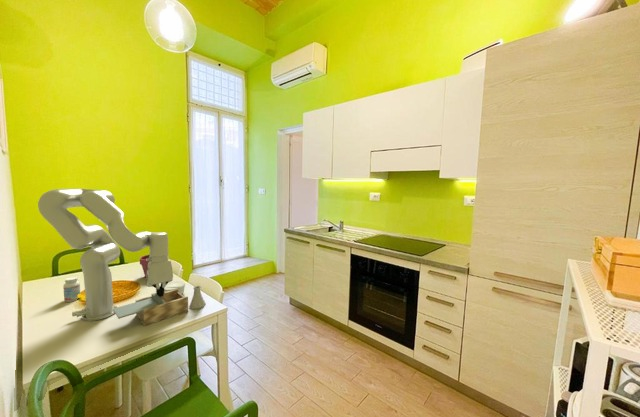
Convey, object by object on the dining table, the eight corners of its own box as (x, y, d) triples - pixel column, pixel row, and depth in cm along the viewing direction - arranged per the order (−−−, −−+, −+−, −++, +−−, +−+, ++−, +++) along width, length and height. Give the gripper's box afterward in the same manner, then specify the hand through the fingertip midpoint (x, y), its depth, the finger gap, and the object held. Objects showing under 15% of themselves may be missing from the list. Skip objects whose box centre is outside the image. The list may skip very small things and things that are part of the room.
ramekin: (164, 301, 134) (163, 291, 133) (160, 293, 142) (159, 284, 142) (187, 295, 141) (187, 285, 141) (182, 288, 150) (182, 279, 149)
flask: (199, 310, 125) (198, 290, 124) (186, 308, 127) (185, 289, 126) (208, 303, 132) (208, 285, 131) (195, 301, 134) (195, 283, 133)
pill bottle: (61, 301, 130) (59, 279, 129) (75, 296, 136) (74, 275, 135) (69, 303, 129) (67, 281, 127) (83, 297, 134) (82, 277, 133)
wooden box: (144, 326, 111) (144, 310, 110) (136, 315, 119) (135, 300, 119) (188, 311, 124) (188, 296, 123) (177, 302, 133) (177, 288, 132)
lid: (118, 318, 105) (118, 312, 104) (113, 309, 111) (112, 304, 111) (166, 304, 118) (166, 298, 117) (158, 297, 125) (158, 291, 124)
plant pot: (170, 271, 175) (170, 253, 174) (159, 279, 161) (158, 260, 160) (148, 271, 174) (148, 253, 173) (135, 279, 160) (134, 259, 159)
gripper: (143, 263, 114) (144, 303, 115) (179, 257, 125) (180, 293, 127) (138, 260, 118) (139, 298, 120) (173, 253, 130) (174, 288, 132)
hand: (160, 295), depth 124 cm, fingers closed
